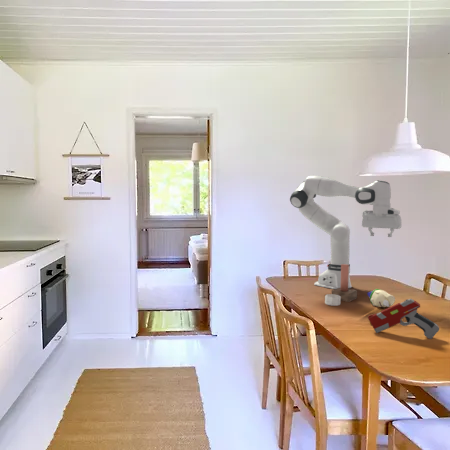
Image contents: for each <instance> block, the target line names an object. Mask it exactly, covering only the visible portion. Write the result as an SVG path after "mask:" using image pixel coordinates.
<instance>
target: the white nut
mask: <svg viewBox="0 0 450 450" xmlns="http://www.w3.org/2000/svg"><path fill="white" fill-rule="evenodd" d="M341 302H342V301H341V296H339V295H335V294H332V293H331V294H326V295H324V304H325V305H327V306H334V307H335V306H340V305H341Z"/></svg>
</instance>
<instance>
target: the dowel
mask: <svg viewBox="0 0 450 450" xmlns="http://www.w3.org/2000/svg"><path fill="white" fill-rule="evenodd" d="M349 275H350V273H349V265H348V264H341V288H340V290H341V291H348V289H349V288H348V277H349Z"/></svg>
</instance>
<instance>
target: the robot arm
mask: <svg viewBox="0 0 450 450" xmlns="http://www.w3.org/2000/svg"><path fill="white" fill-rule="evenodd" d="M391 191H392V189H391V184H390V183H389V182H388V181H386V180H385V181H384V180H374V182H372V183H370V184H368V185H365V186H362V187H357V186H352V185H348V184H347V183H343V182H340V181H338V180H335V179H333V178H329V177H326V176H320V175H309V176H307V177H306V178H305V180H303V182H302V183H301V184H299V185H298V186H297V187H296V189H295V190H294V191H293V192H292V193H291V195H290V198H289V201H290V204H291V205H292V206H293V207H294V208H297V209H298V210H299V211H298V212H300V213H301V215H302V216H304V217H305V218H306V219H307V220H308V221H310V222H311V223H312V224H313V225H315V226H316V227H318V228H319V229H321V230H322V231H324V232H325V233H327V234H328V235H330V263H328V264H327V265H326V267H327V269H326V270H324V271H323V272H322V273H320V274H319V275H318V278H317V281H315V282H314V286H318V287H323V288H326V289H332V290H335V289H337V288H341V264H348V265H349V277H348V289H351V288H352V283H351V279H350V278H351V276H350V272H351V264H350V235H351V229H350V227H349V226H348V225H347V224H346V223H345V222H344V221H342V220H340V218H337V217H336V216H334V215H333V214H331V213H330V212H329V211H328V210H326V209H325V208H324V207H322V206H320V205H319V204H317V203H316V202H315V200H314V198H316V197H317V196H321V197H329V198H331V197H332V198H333V197H349V198H354V199H355V202H357V203H358V204H360V205H371V206H372V210H364V211H363V212H362V221H361V227H362V228H368V231H369V235H370V237H374V236H375V232H373V231H372V230H373V229H389V231H390V232H389V233H387V237H388V238H392V237H393V233H394V231H395V230H398V229H399V230H400V229H401V228H402V217H401V215H400V212H401V211H400V210H398V209H395V208H392V207H391V198H392V197H391V195H392V192H391Z"/></svg>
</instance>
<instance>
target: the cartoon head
mask: <svg viewBox="0 0 450 450" xmlns="http://www.w3.org/2000/svg"><path fill="white" fill-rule="evenodd" d="M366 294H367V297H368V298H369V301H370V303H371V305H372V306H374V307H375V306H376V307H379V308H386V307H387V308H389V307H392V306H394V305H395V302H396V298H395V296H394V295H393V294H390V293H388V292H387V291H386V290H383V289H379V288H374V289H373V290H371V291H368V292H366Z"/></svg>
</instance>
